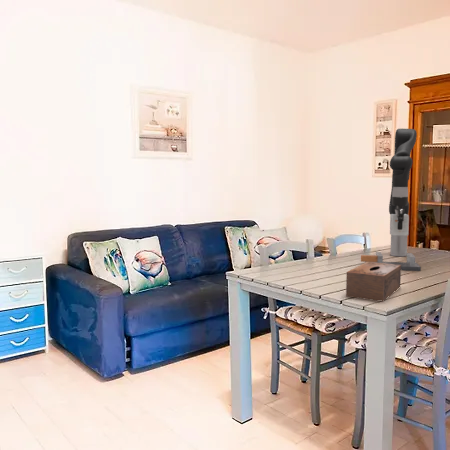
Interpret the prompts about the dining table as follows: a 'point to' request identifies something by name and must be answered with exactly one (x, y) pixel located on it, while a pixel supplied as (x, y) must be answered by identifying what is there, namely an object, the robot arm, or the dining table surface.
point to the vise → (407, 263)
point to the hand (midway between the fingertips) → (399, 228)
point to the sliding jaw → (372, 258)
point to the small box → (394, 225)
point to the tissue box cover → (373, 280)
